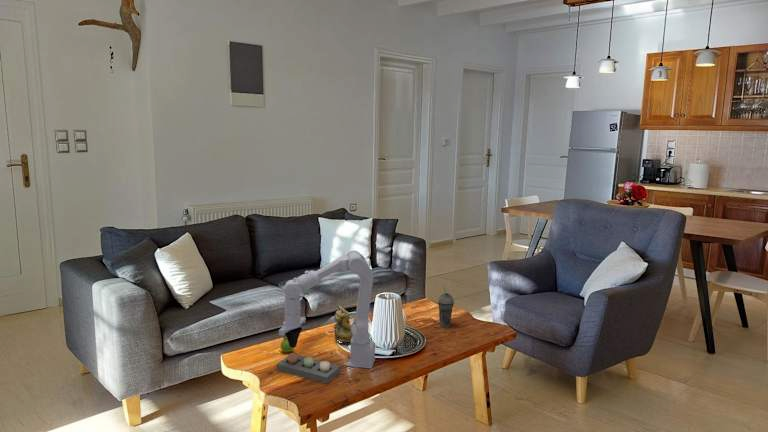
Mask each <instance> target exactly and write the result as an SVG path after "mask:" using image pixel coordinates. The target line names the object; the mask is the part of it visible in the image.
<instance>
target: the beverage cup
mask: <svg viewBox="0 0 768 432" xmlns="http://www.w3.org/2000/svg"><path fill="white" fill-rule="evenodd" d="M437 303H438V311H439V312H438V313H439V314H438V316H439V327H441V328H443V329H449V328H450V327H451V322H452V316H453V315H452V312H453V308H454V305H455V301H454V297H453V296H452V295H451V294H449V293H448V292H447V293H446V284H445V283H444V284H443V293H442V294H441V295H440V296H439V298H438V301H437Z"/></svg>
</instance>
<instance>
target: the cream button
mask: <svg viewBox="0 0 768 432" xmlns="http://www.w3.org/2000/svg"><path fill="white" fill-rule="evenodd" d="M321 361H322V362H320V371H321V372H325V373H327V372H329V371H330V362H329V361H327V360H325V361H324V360H321Z"/></svg>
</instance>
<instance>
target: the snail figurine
mask: <svg viewBox="0 0 768 432" xmlns="http://www.w3.org/2000/svg"><path fill="white" fill-rule="evenodd" d="M281 338H282V339H283V340H282V341H281V342H280V348H281V350H282V351H283V352H284V353H291V352H292V351H293V350H294V348H295V347H294V348H293V347H290V346H289V342H288V339H287V337H286V335H284V336H282V335H281Z"/></svg>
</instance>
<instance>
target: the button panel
mask: <svg viewBox="0 0 768 432" xmlns="http://www.w3.org/2000/svg"><path fill="white" fill-rule="evenodd" d="M306 357H307V356H303V355H300V354H299V355H298V363H296V364H295V365H294V364H290V363H288V356H286V357H285V358H283V359H281V360H280V361H279V362H277V363H276V371H277V372H282V373H285V374H288V375H292V376H297V377H300V378H303V379H307V380H311V381H314V382H319V383H322V384H326V385H328V384H329V383H330V382H331V381H332V380H333V379H335V378H337V376H338V375H339V374H341V372H342V366H341V365H338V364H335V363H334V364H333V363H330V362H329V363H330V371H329V372H327V373H325V372H321V371H320V362H322V361H323V360H318V359H314V358H313V359H314V366H313V367H312V368H311V369H309V368H306V367H304V358H306Z"/></svg>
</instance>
